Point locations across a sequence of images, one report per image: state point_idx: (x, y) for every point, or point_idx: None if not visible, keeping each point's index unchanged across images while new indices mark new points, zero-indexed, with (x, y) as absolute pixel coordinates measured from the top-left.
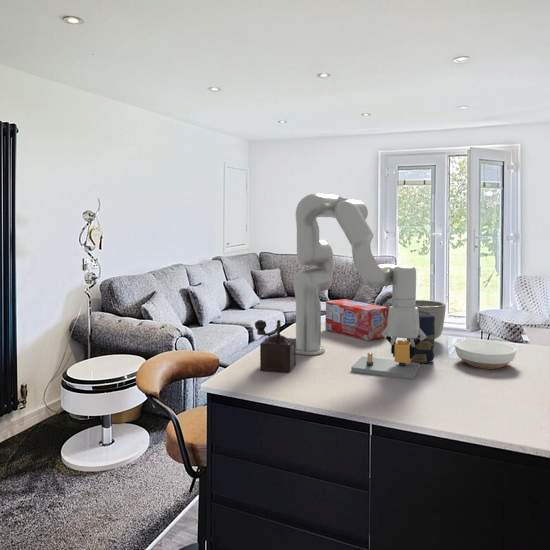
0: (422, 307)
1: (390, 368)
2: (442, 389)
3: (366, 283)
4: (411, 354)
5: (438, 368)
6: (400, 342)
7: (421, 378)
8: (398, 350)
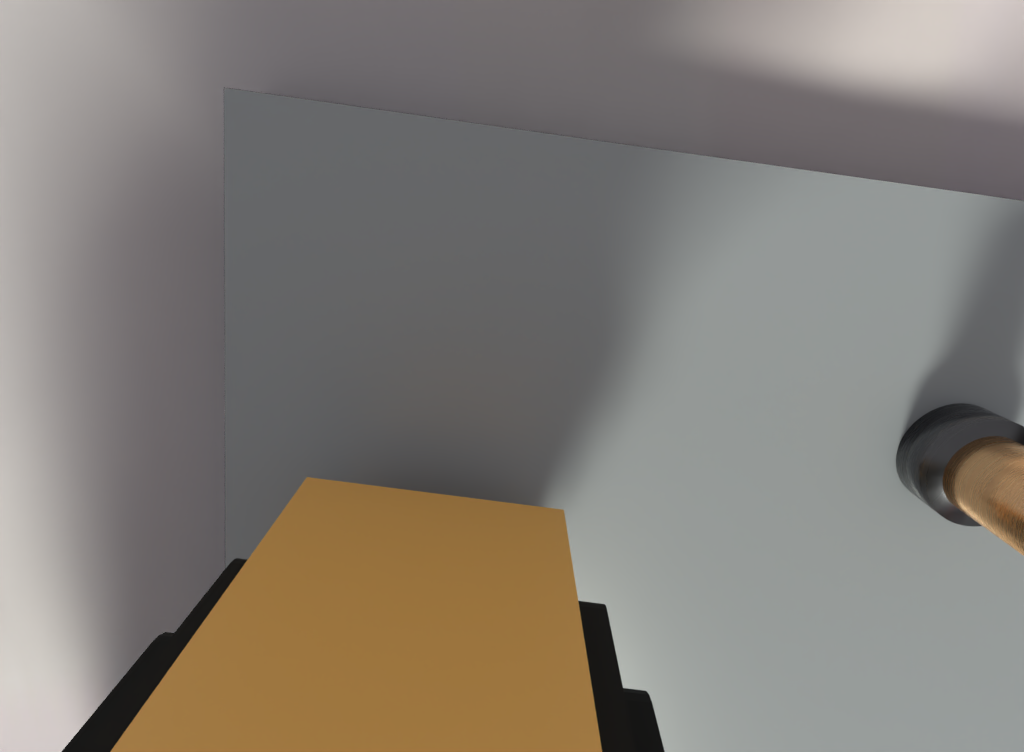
0: None
1: (619, 351)
2: None
3: None
4: (201, 609)
5: (33, 668)
6: None
7: (155, 198)
8: (486, 660)
